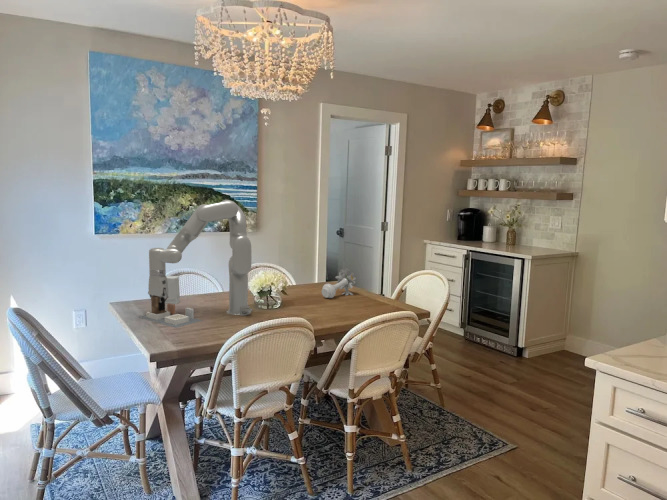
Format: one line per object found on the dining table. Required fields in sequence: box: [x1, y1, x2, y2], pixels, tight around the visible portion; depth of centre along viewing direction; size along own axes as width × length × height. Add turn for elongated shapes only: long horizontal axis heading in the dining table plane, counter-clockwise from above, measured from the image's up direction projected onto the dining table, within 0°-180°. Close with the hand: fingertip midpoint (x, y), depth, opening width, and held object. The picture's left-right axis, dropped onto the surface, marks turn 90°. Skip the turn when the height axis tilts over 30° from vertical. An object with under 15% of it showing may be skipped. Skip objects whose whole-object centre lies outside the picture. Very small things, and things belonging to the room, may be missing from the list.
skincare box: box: [162, 275, 181, 305], centre depth 275 cm, size 8×7×16 cm
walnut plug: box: [150, 296, 166, 314], centre depth 246 cm, size 4×4×9 cm
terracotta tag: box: [166, 303, 176, 315], centre depth 253 cm, size 4×1×5 cm, turn 56°
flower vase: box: [321, 267, 357, 299], centre depth 308 cm, size 13×18×25 cm
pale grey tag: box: [185, 307, 195, 320], centre depth 245 cm, size 4×1×5 cm, turn 56°
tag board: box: [138, 310, 203, 329], centre depth 244 cm, size 29×16×4 cm, turn 56°
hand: (158, 308), depth 247 cm, fingers open, 4 cm apart
